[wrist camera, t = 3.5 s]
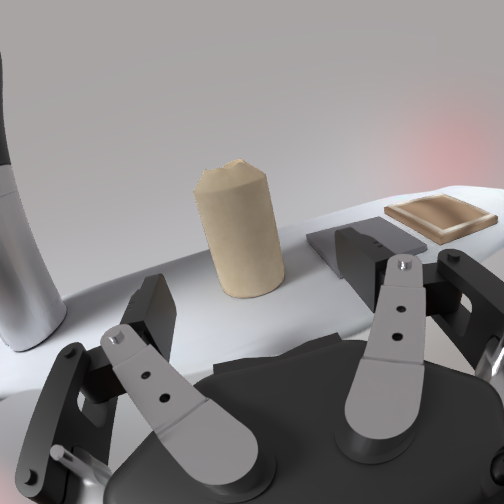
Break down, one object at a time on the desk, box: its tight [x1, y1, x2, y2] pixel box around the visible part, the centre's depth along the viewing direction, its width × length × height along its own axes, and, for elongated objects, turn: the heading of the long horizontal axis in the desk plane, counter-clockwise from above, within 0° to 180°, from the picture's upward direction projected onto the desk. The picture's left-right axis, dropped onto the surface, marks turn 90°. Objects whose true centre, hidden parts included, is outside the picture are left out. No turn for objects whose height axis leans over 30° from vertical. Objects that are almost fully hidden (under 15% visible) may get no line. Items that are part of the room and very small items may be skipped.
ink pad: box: [306, 217, 427, 279], centre depth 25 cm, size 9×9×1 cm
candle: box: [194, 159, 284, 298], centre depth 21 cm, size 6×6×10 cm
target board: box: [384, 193, 498, 245], centre depth 26 cm, size 11×10×1 cm
